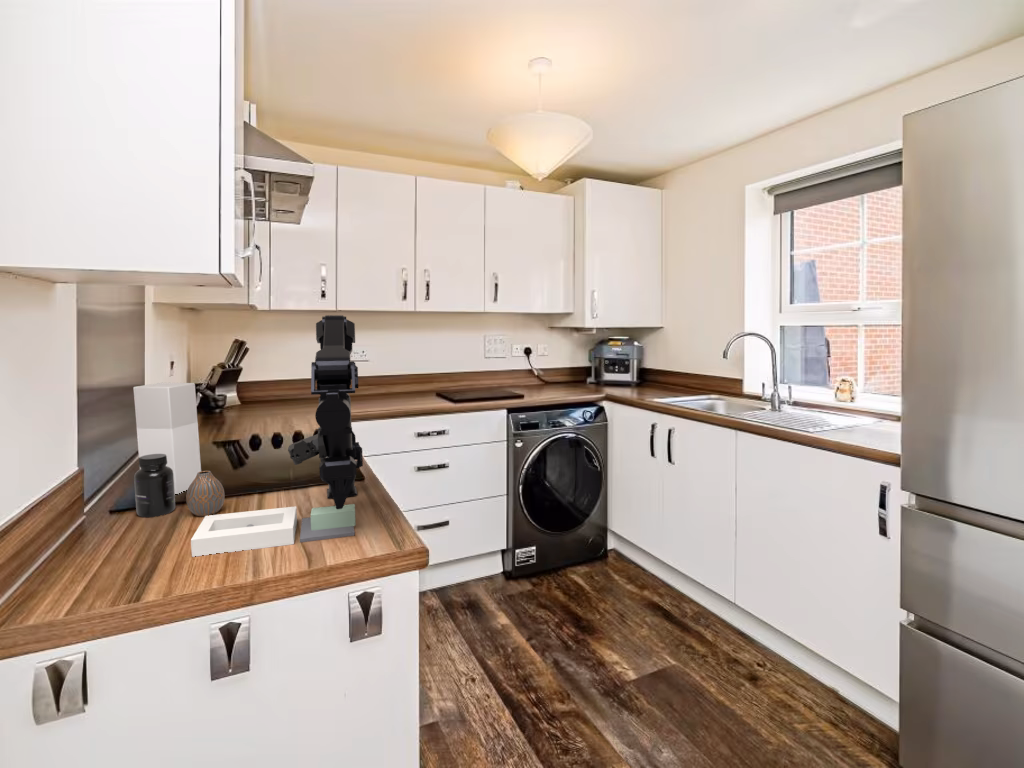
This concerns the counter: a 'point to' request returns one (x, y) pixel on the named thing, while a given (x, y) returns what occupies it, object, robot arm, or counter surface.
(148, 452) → the tall white carton
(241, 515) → the white rectangular frame
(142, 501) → the supplement bottle
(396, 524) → the counter surface
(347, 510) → the sage block
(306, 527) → the rubber mat
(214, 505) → the vase
